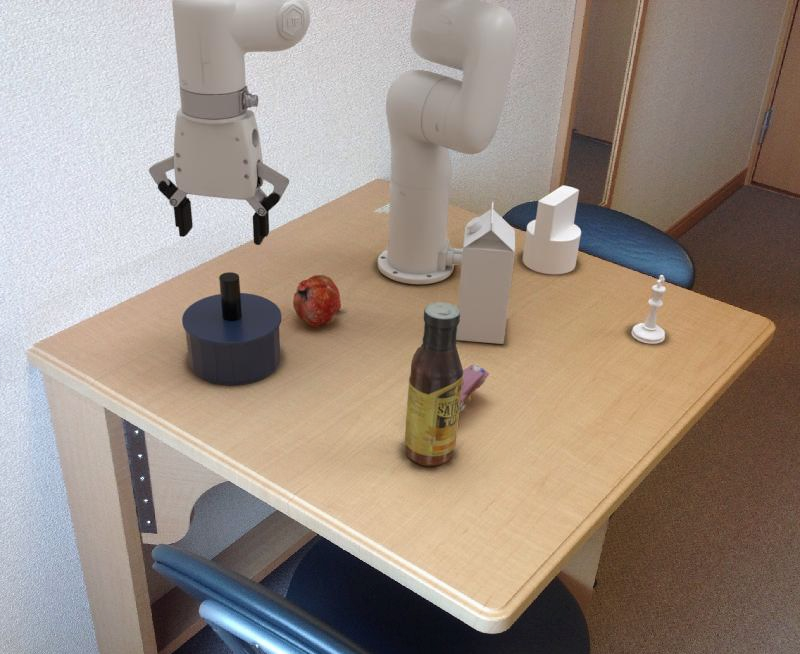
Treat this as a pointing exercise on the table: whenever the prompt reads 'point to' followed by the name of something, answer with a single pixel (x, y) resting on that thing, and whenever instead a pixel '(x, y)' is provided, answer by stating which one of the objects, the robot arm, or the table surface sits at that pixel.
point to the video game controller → (471, 382)
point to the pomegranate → (317, 300)
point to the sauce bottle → (434, 388)
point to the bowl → (234, 360)
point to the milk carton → (485, 278)
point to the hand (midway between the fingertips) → (222, 236)
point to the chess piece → (652, 318)
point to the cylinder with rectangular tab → (553, 234)
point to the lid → (231, 316)
